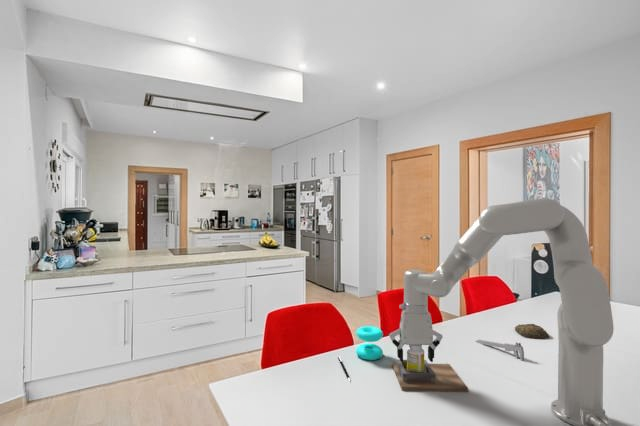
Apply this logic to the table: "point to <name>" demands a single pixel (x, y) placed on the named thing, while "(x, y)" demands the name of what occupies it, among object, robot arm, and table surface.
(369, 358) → the donuts
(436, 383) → the board
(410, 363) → the supplement bottle
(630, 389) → the table surface
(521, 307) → the table surface
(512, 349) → the caliper
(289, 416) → the table surface
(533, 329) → the bread roll
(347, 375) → the pen
